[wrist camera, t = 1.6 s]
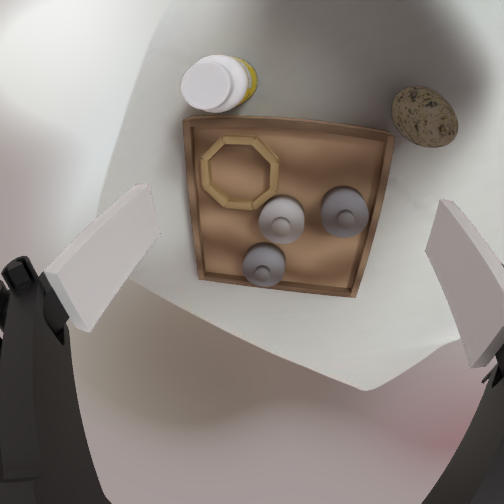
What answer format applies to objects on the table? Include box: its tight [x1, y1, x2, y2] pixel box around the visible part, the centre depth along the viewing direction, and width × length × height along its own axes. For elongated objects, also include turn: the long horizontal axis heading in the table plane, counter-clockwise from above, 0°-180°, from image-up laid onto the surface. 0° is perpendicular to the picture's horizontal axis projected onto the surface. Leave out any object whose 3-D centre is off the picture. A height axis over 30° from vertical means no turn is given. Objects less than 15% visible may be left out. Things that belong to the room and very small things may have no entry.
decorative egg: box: [391, 86, 458, 148], centre depth 20 cm, size 6×6×10 cm
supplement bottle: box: [181, 55, 258, 113], centre depth 22 cm, size 5×5×10 cm
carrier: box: [183, 116, 395, 298], centre depth 32 cm, size 22×22×5 cm
